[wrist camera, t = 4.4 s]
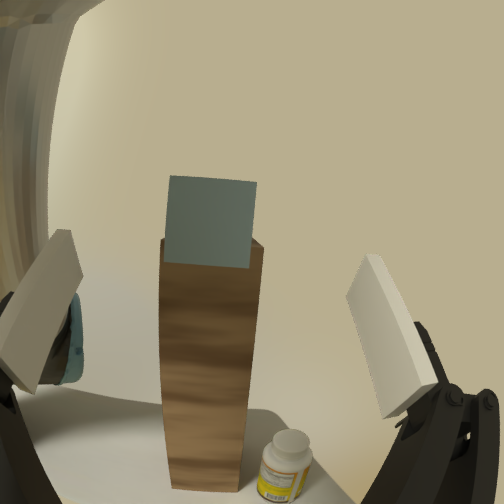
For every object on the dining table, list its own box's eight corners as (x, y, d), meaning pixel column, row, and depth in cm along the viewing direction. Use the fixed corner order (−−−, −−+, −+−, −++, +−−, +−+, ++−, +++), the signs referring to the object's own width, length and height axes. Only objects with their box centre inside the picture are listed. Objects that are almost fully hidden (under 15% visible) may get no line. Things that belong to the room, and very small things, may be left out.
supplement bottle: (288, 471, 31) (301, 419, 30) (307, 498, 26) (327, 448, 25) (249, 481, 29) (257, 429, 28) (266, 511, 24) (279, 462, 22)
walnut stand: (237, 492, 27) (263, 247, 23) (171, 488, 26) (160, 239, 22) (232, 442, 37) (251, 236, 33) (178, 439, 36) (178, 231, 32)
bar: (248, 268, 14) (256, 182, 13) (163, 261, 13) (169, 175, 13) (232, 233, 36) (235, 199, 35) (198, 230, 35) (201, 197, 35)
